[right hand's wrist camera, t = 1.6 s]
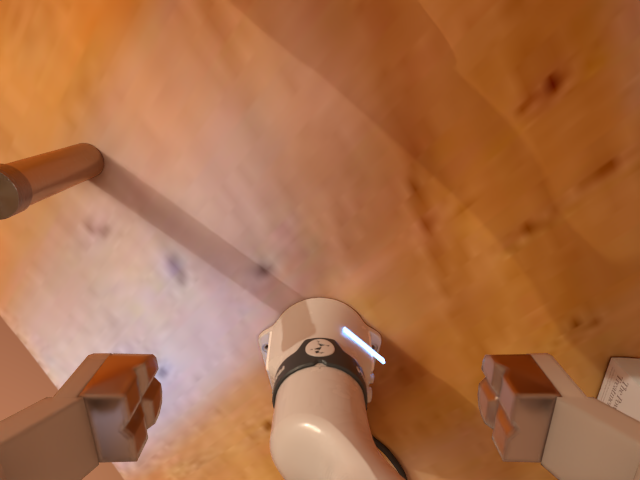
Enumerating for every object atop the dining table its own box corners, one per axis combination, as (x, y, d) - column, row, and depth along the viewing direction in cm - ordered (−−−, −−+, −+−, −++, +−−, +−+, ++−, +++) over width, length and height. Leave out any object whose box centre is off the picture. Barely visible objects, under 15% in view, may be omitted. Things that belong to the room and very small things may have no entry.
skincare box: (606, 355, 67) (687, 434, 53) (640, 357, 68) (731, 436, 53) (573, 457, 75) (636, 551, 60) (604, 458, 75) (674, 552, 60)
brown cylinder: (64, 165, 57) (-36, 200, 41) (76, 136, 56) (-23, 160, 40) (96, 183, 58) (10, 224, 42) (109, 154, 57) (25, 185, 40)
